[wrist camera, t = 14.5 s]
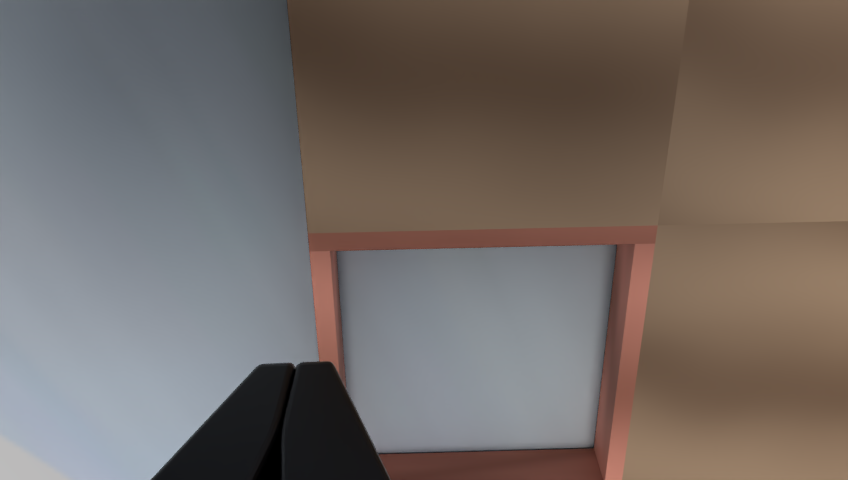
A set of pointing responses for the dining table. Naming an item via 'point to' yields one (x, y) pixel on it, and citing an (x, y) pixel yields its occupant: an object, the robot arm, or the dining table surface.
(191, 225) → the dining table surface
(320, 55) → the trap deck
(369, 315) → the dining table surface
